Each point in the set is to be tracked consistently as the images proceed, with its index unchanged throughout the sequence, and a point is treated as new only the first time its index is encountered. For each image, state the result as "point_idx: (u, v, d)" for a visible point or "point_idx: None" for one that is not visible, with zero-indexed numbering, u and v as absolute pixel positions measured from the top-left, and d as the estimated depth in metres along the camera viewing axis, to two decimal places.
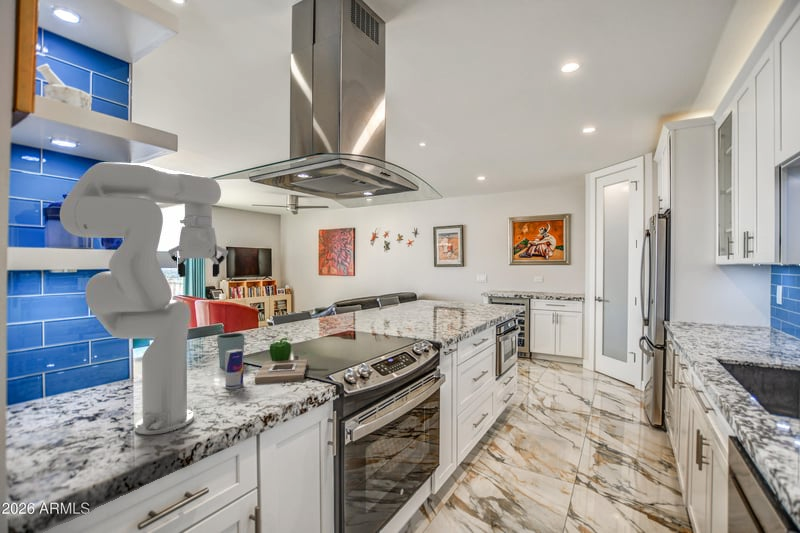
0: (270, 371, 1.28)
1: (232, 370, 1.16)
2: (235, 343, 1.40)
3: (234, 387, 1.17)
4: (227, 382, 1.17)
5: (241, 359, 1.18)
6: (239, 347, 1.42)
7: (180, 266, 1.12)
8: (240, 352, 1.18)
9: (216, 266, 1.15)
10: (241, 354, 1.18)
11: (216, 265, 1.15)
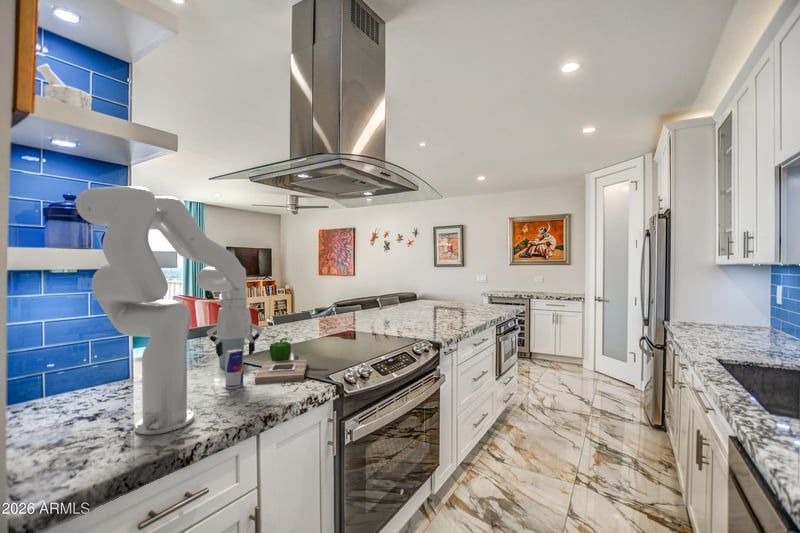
0: (270, 371, 1.28)
1: (232, 370, 1.16)
2: (235, 343, 1.40)
3: (234, 387, 1.17)
4: (227, 382, 1.17)
5: (241, 359, 1.18)
6: (239, 347, 1.42)
7: (218, 346, 1.17)
8: (240, 352, 1.18)
9: (252, 344, 1.20)
10: (241, 354, 1.18)
11: (252, 343, 1.20)
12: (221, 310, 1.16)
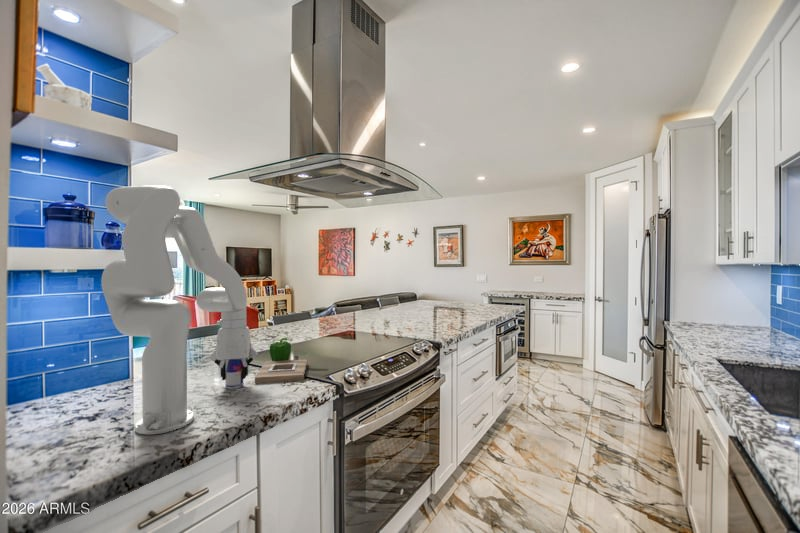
0: (270, 371, 1.28)
1: (232, 370, 1.16)
2: None
3: (234, 387, 1.17)
4: (227, 382, 1.17)
5: None
6: None
7: (223, 370, 1.17)
8: None
9: (245, 368, 1.19)
10: None
11: (245, 367, 1.19)
12: (221, 330, 1.16)
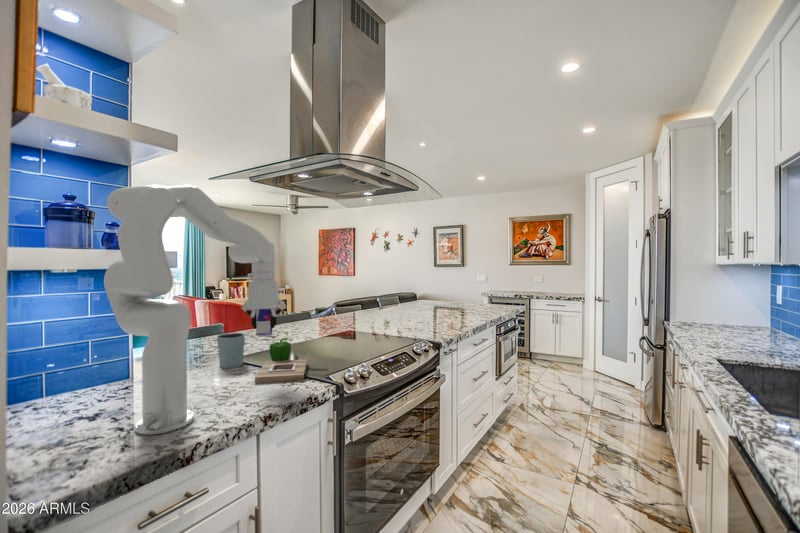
0: (270, 371, 1.28)
1: (262, 319, 1.25)
2: (235, 343, 1.40)
3: (265, 335, 1.25)
4: (258, 330, 1.25)
5: (270, 309, 1.27)
6: (239, 347, 1.42)
7: (254, 319, 1.25)
8: None
9: (274, 318, 1.27)
10: None
11: (274, 317, 1.27)
12: (252, 282, 1.24)
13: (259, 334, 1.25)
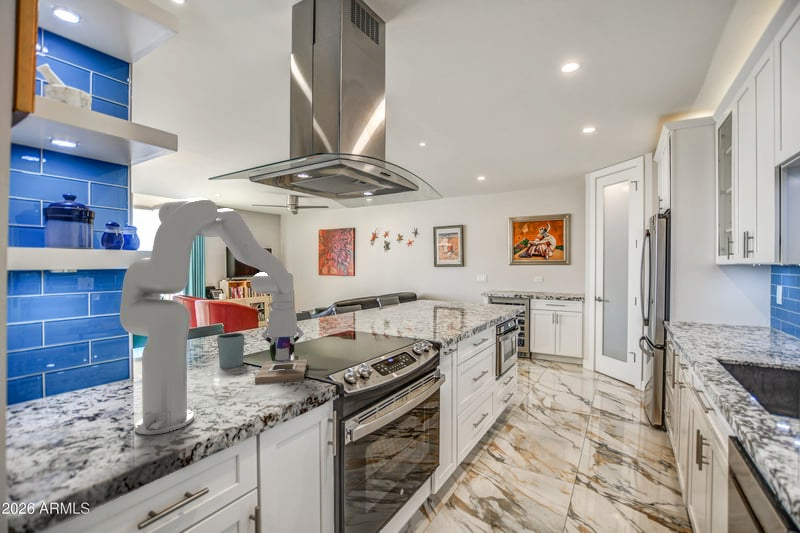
0: (270, 371, 1.28)
1: (282, 346, 1.31)
2: (235, 343, 1.40)
3: (283, 362, 1.31)
4: (277, 357, 1.31)
5: None
6: (239, 347, 1.42)
7: (273, 347, 1.31)
8: None
9: (292, 345, 1.33)
10: None
11: (292, 345, 1.33)
12: (272, 311, 1.30)
13: (278, 361, 1.31)
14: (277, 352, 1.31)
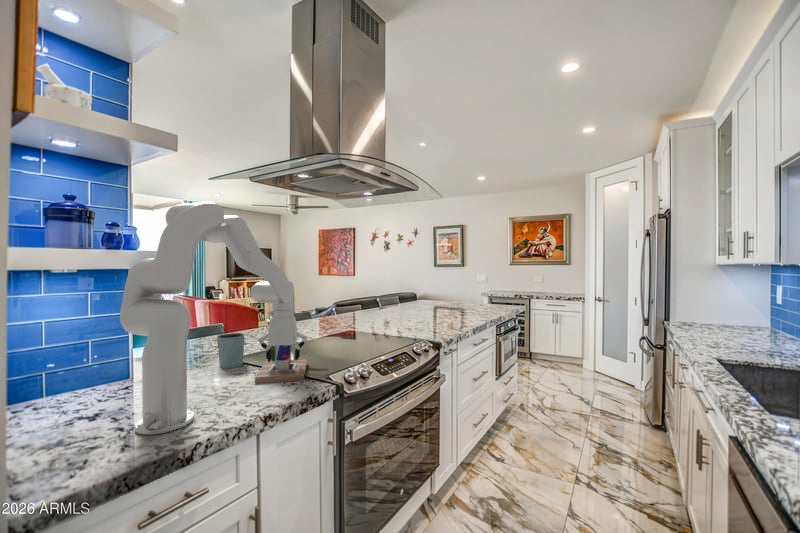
0: (270, 371, 1.28)
1: (281, 358, 1.31)
2: (235, 343, 1.40)
3: None
4: (277, 369, 1.31)
5: (289, 348, 1.32)
6: (239, 347, 1.42)
7: (268, 353, 1.31)
8: None
9: (298, 351, 1.33)
10: None
11: (298, 350, 1.33)
12: (272, 320, 1.30)
13: None
14: (277, 364, 1.31)
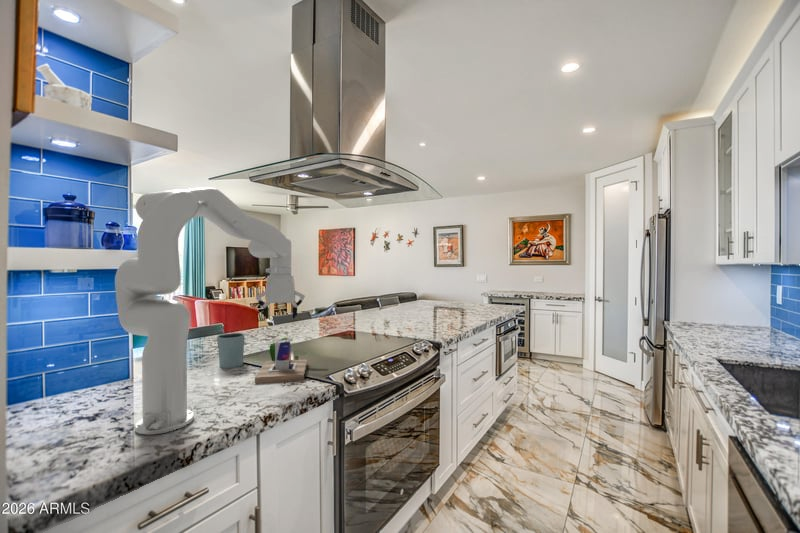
0: (270, 371, 1.28)
1: (281, 358, 1.30)
2: (235, 343, 1.40)
3: None
4: (277, 369, 1.31)
5: (289, 348, 1.32)
6: (239, 347, 1.42)
7: (266, 310, 1.30)
8: (288, 342, 1.32)
9: (295, 309, 1.33)
10: (289, 344, 1.33)
11: (295, 308, 1.33)
12: (270, 277, 1.30)
13: None
14: (277, 364, 1.31)
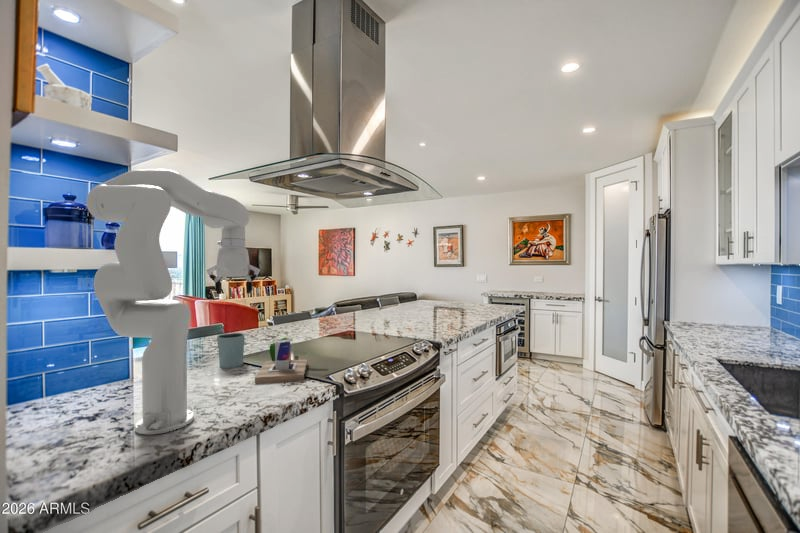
0: (270, 371, 1.28)
1: (281, 358, 1.31)
2: (235, 343, 1.40)
3: None
4: (277, 369, 1.31)
5: (289, 348, 1.32)
6: (239, 347, 1.42)
7: (217, 284, 1.24)
8: (288, 342, 1.32)
9: (249, 284, 1.26)
10: (289, 344, 1.33)
11: (249, 283, 1.26)
12: (221, 249, 1.23)
13: None
14: (277, 364, 1.31)
